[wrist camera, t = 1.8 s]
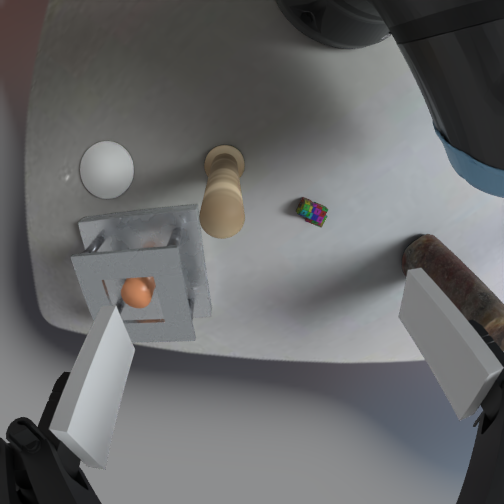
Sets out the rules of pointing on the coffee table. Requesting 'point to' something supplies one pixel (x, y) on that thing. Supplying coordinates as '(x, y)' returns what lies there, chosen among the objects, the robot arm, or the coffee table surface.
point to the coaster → (107, 169)
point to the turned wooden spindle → (223, 193)
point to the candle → (457, 284)
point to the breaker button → (138, 291)
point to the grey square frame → (146, 269)
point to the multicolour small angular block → (312, 212)
